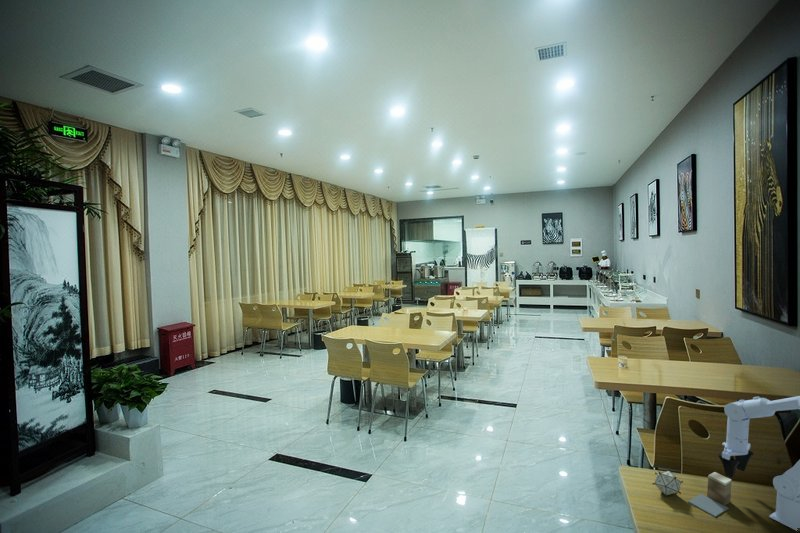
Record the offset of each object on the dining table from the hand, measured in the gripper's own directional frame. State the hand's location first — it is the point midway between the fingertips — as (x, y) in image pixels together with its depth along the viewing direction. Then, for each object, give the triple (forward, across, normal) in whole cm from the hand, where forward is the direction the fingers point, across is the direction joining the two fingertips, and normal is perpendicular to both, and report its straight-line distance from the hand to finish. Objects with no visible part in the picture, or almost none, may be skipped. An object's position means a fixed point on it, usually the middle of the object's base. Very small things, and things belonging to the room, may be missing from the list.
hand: (735, 472), depth 141 cm
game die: (+7, +22, -10) cm, 25 cm away
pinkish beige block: (+6, +10, 0) cm, 12 cm away
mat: (+6, +17, 0) cm, 18 cm away
